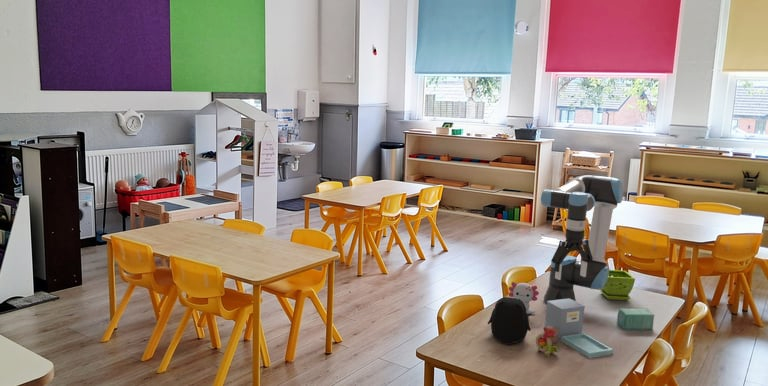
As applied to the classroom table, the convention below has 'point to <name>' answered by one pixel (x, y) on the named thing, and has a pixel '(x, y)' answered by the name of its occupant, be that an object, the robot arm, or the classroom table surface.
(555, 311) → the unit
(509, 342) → the penguin
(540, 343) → the bird rattle
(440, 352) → the classroom table surface
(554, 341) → the walnut dowel
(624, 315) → the box
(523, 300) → the toy
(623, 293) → the flower pot
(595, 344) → the tray
